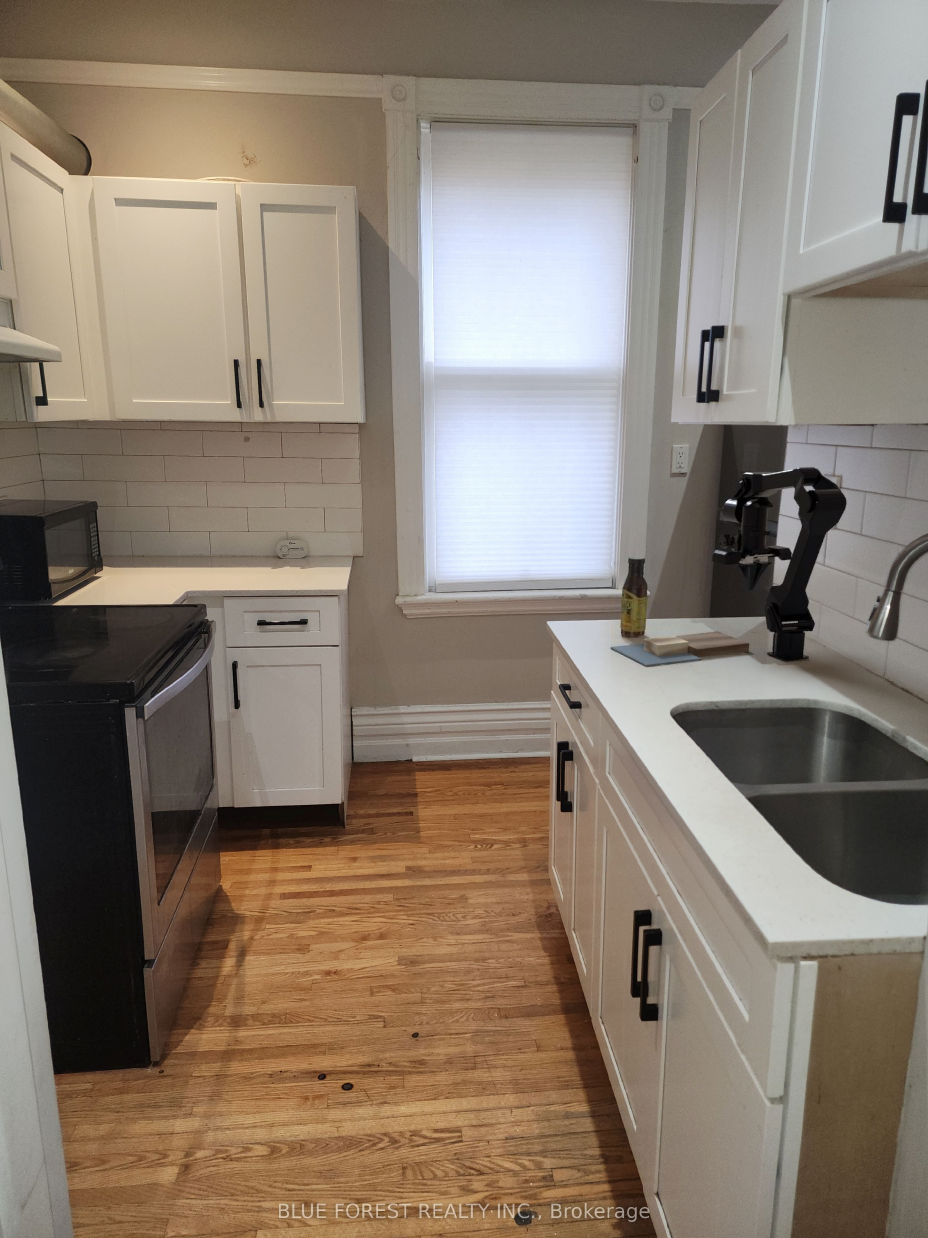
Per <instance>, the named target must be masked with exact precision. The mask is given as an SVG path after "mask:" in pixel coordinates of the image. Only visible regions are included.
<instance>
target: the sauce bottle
mask: <svg viewBox="0 0 928 1238" xmlns="http://www.w3.org/2000/svg"><path fill="white" fill-rule="evenodd" d="M627 563H628V570H627V571H628V572H627V575H626V578H625V580H624V582H623V586H622V587H621V589H622V590H621V603H620V604H621V606H620V607H621V608H620V625H619V628H620V635H622V636H624V637H626V638H640V637H641V636H642V637H644V636H645V634H646V627H647V625H646V624H647V608H648V586H649V585H648V583H647V581H646V579H645V577H644V575H645V573H644V571H645V569H644V568H645V563H646V557H644V556H639V555H638V556H637V555H633V556H632V555H631V556H629V557H628V559H627ZM642 637H641V638H642Z"/></svg>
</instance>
